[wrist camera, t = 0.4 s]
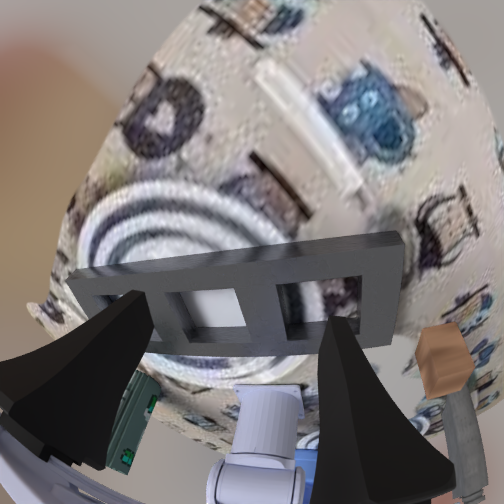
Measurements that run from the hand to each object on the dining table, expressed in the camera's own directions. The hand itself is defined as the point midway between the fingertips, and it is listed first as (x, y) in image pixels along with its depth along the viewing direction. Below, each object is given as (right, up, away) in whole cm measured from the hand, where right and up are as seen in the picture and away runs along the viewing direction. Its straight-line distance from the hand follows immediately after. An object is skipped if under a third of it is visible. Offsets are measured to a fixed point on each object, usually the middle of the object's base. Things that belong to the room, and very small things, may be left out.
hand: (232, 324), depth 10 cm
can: (-16, -16, +25) cm, 33 cm away
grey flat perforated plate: (-2, -2, +13) cm, 13 cm away
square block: (+20, -6, +12) cm, 24 cm away
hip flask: (+32, -20, +18) cm, 42 cm away
